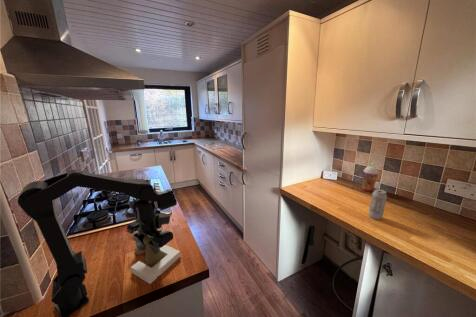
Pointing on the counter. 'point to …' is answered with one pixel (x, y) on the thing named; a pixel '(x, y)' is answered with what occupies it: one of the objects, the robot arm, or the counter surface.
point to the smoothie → (369, 178)
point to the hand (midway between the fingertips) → (152, 251)
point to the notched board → (152, 273)
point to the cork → (151, 253)
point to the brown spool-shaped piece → (138, 246)
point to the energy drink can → (377, 204)
